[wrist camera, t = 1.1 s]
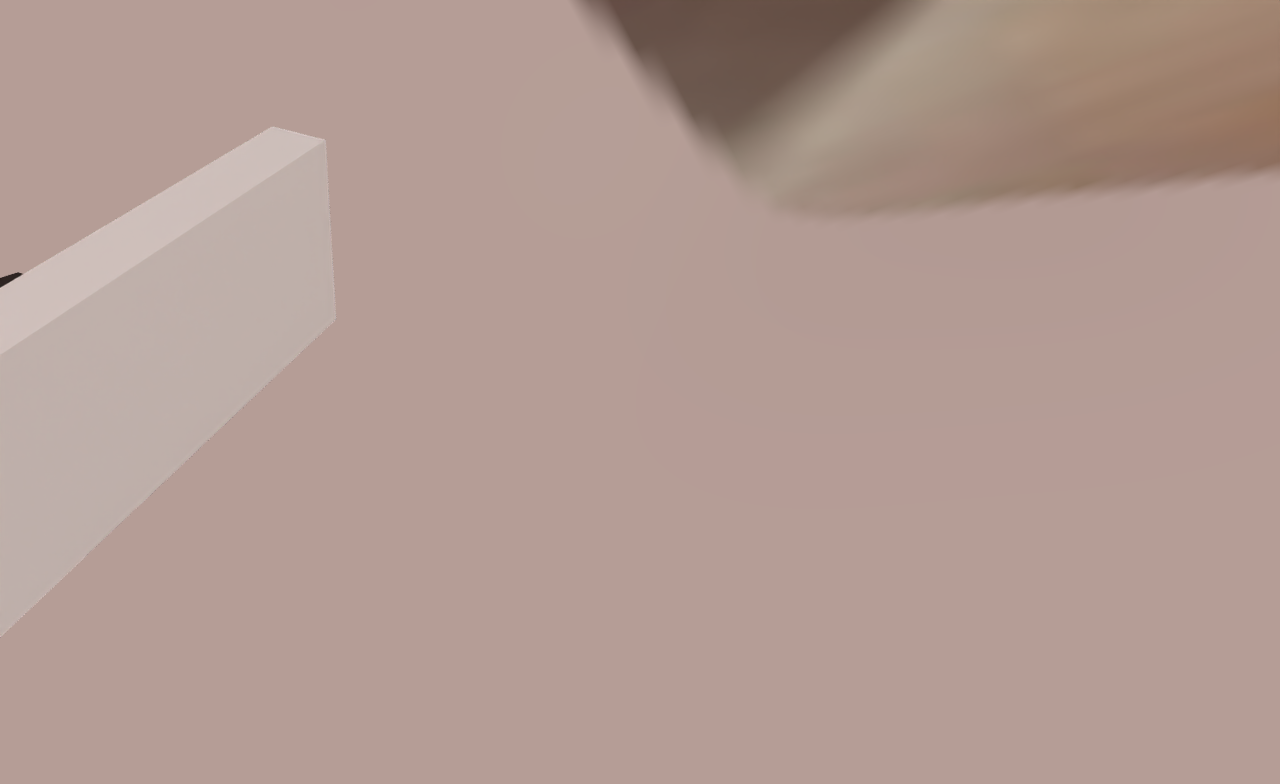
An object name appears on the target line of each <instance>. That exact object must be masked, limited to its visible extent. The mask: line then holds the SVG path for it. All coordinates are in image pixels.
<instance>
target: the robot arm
mask: <svg viewBox="0 0 1280 784" xmlns="http://www.w3.org/2000/svg"><path fill="white" fill-rule="evenodd" d="M333 276H334V275H333V258H332V241H331V224H330V206H329V189H328V173H327V154H326V140H324V139H320V138H316V137H312V136H308V135H304V134H300V133H296V132H292V131H288V130H284V129H280V128H276V127H271V128H269V129H267V130H266V131H264V132H262V133H261V134H259V135H258V136H255V137H254V138H252V139H250V140H249V141H247V142H246V143H244V144H242V145H240V146H239V147H237V148H235V149H234V150H232V151H230V152H228V153H227V154H225V155H223V156H222V157H220V158H218V159H217V160H215V161H213V162H212V163H210V164H208V165H207V166H205V167H203V168H201V169H200V170H198V171H197V172H195V173H193V174H191V175H190V176H188V177H186V178H185V179H183V180H181V181H180V182H178V183H176V184H175V185H173V186H171V187H170V188H168V189H166V190H165V191H163V192H161V193H159V194H158V195H156V196H155V197H153V198H151V199H149V200H148V201H146V202H144V203H143V204H141V205H139V206H138V207H136V208H134V209H133V210H131V211H129V212H127V213H126V214H124V215H122V216H121V217H119V218H117V219H116V220H114V221H112V222H110V223H109V224H107V225H105V226H104V227H102V228H100V229H99V230H97V231H95V232H94V233H92V234H90V235H89V236H87V237H85V238H83V239H82V240H80V241H78V242H77V243H75V244H73V245H72V246H70V247H68V248H67V249H65V250H63V251H62V252H60V253H58V254H57V255H55V256H53V257H52V258H50V259H48V260H46V261H45V262H43V263H41V264H40V265H38V266H36V267H35V268H33V269H31V270H30V271H28V272H26V273H24V274H22V273H15V274H11V275H8V276H5V277H2V278H0V637H1V636H2V635H3V634H4V633H5V632H6V631H7V630H9V629H10V628H11V627H12V626H13V625H14V624H15V623H16V622H17V621H18V620H19V619H20V618H21V617H22V616H23V615H24V614H25V613H26V612H28V611H29V610H30V609H31V608H32V607H33V606H34V605H35V604H36V603H37V602H38V601H39V600H40V599H41V598H42V597H43V596H44V595H45V594H47V593H48V592H49V591H50V590H51V589H52V588H53V587H54V586H55V585H56V584H57V583H58V582H59V581H60V580H61V579H62V578H63V577H64V576H66V575H67V573H69V572H70V571H71V570H72V569H73V568H74V567H75V566H76V565H77V564H78V563H79V562H80V561H81V560H82V559H84V558H85V557H86V556H87V555H88V554H89V553H90V552H91V551H92V550H93V549H94V548H95V547H96V546H97V545H98V544H99V543H100V542H101V541H102V540H104V538H106V537H107V536H108V535H109V534H110V533H111V532H112V531H113V530H114V529H115V528H116V527H117V526H118V525H119V524H120V523H121V522H123V521H124V520H125V519H126V518H127V517H128V516H129V515H130V514H131V513H132V512H133V511H134V510H135V509H136V508H137V507H138V506H139V505H141V504H142V503H143V502H144V501H145V500H146V499H147V498H148V497H149V496H150V495H151V494H152V493H153V492H154V491H155V490H156V489H157V488H158V487H159V486H160V485H162V484H163V483H164V482H165V481H166V480H167V479H168V478H169V477H170V476H171V475H172V474H173V473H174V472H175V471H176V470H177V469H178V468H180V467H181V466H182V465H183V464H184V463H185V462H186V461H187V460H188V459H189V458H190V457H191V456H192V455H193V454H194V453H195V452H196V451H197V450H199V449H200V448H201V447H202V446H203V445H204V444H205V443H206V442H207V441H208V440H209V439H210V438H211V437H212V436H213V435H214V434H215V433H216V432H218V431H219V430H220V429H221V428H222V427H223V426H224V425H225V424H226V423H227V422H228V421H229V420H230V419H231V418H232V417H233V416H234V415H236V414H237V413H238V411H240V410H241V409H242V408H243V407H244V406H245V405H246V404H247V403H248V402H249V401H250V400H251V399H252V398H253V397H254V396H256V394H258V393H259V392H260V391H261V390H262V389H263V388H264V387H265V386H266V385H267V384H268V383H269V382H270V381H271V380H272V379H274V378H275V377H276V376H277V375H278V374H279V373H280V372H281V371H282V370H283V369H284V368H285V367H286V366H287V365H288V364H289V363H290V362H291V361H292V360H293V359H295V358H296V357H297V356H298V355H299V354H300V353H301V352H302V351H303V350H304V349H305V348H306V347H307V346H308V345H309V344H310V343H312V342H313V341H314V339H316V338H317V337H318V336H319V335H320V334H321V333H322V332H323V331H324V330H325V329H326V328H327V327H328V326H329V325H331V323H332V322H334V321H335V320H336V310H335V292H334V277H333Z"/></svg>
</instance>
